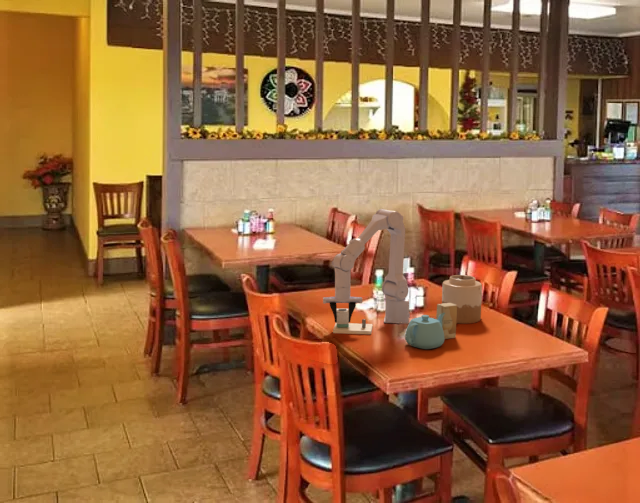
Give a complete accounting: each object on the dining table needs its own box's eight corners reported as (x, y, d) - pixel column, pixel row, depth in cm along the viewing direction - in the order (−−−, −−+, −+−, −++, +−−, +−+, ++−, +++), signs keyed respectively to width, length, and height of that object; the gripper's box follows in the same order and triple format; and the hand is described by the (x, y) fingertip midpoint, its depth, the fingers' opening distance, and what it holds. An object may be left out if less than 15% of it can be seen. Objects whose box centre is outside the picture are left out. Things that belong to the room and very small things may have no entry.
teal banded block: (348, 323, 281) (348, 308, 280) (348, 327, 276) (348, 311, 275) (336, 324, 281) (336, 308, 280) (336, 327, 276) (336, 311, 275)
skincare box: (442, 339, 266) (443, 306, 264) (434, 336, 270) (435, 304, 267) (456, 337, 269) (457, 304, 267) (449, 334, 272) (450, 302, 270)
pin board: (372, 327, 282) (372, 316, 281) (371, 334, 272) (371, 323, 272) (335, 325, 284) (335, 315, 283) (333, 333, 274) (333, 321, 273)
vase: (464, 326, 284) (465, 283, 281) (433, 318, 295) (434, 276, 292) (488, 319, 294) (490, 277, 291) (457, 311, 305) (459, 271, 302)
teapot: (458, 314, 259) (423, 323, 248) (457, 343, 261) (422, 354, 250) (431, 307, 269) (396, 315, 257) (430, 336, 271) (395, 345, 259)
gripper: (361, 283, 280) (361, 318, 282) (322, 284, 280) (322, 319, 282) (362, 288, 273) (362, 323, 275) (323, 288, 273) (323, 324, 275)
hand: (342, 321), depth 278 cm, fingers closed on teal banded block, 4 cm apart
